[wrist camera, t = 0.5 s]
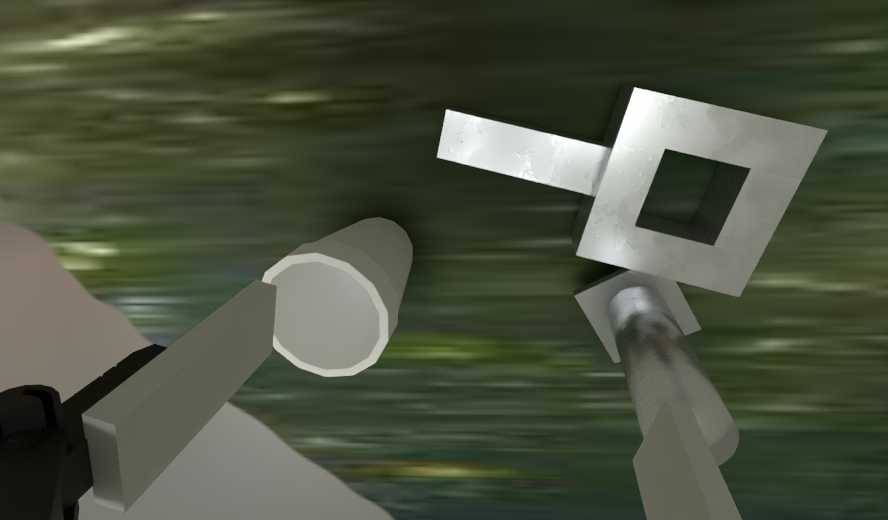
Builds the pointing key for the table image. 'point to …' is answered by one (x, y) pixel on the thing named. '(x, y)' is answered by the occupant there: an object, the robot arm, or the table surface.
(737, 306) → the table surface
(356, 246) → the foam cup
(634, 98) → the grey angular stepped piece
